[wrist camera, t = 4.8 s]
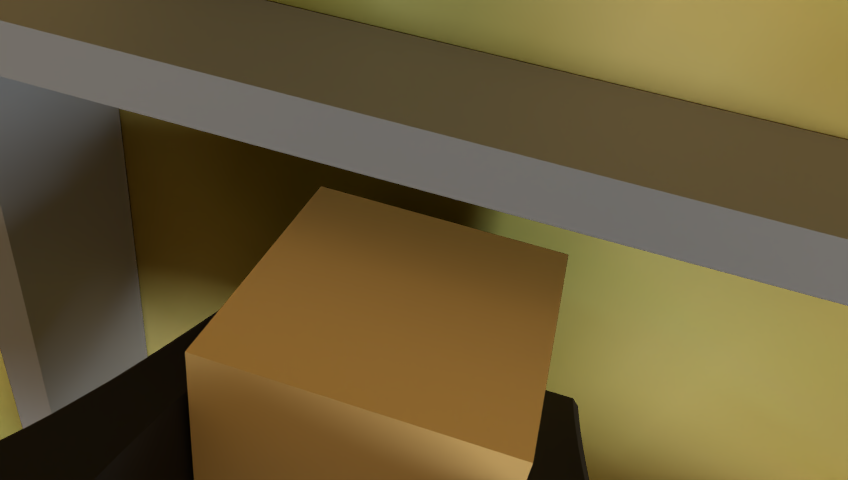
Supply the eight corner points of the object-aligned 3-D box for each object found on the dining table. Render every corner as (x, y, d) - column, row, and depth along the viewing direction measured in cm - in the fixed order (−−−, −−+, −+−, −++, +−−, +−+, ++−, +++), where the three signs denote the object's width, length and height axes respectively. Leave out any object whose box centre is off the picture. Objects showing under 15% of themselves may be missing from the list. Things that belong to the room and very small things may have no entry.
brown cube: (510, 427, 13) (464, 643, 10) (308, 363, 13) (198, 548, 10) (568, 254, 10) (533, 463, 7) (321, 186, 11) (184, 351, 8)
